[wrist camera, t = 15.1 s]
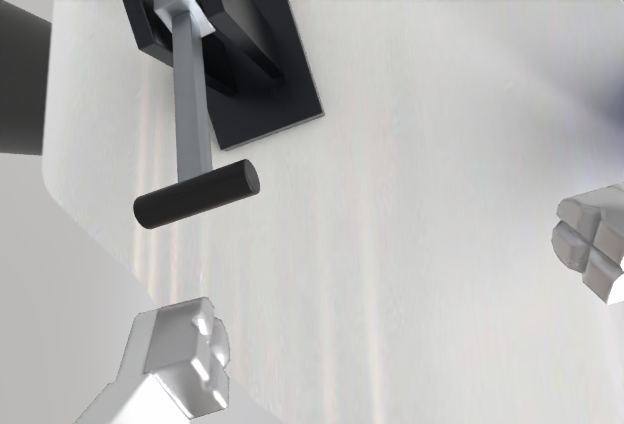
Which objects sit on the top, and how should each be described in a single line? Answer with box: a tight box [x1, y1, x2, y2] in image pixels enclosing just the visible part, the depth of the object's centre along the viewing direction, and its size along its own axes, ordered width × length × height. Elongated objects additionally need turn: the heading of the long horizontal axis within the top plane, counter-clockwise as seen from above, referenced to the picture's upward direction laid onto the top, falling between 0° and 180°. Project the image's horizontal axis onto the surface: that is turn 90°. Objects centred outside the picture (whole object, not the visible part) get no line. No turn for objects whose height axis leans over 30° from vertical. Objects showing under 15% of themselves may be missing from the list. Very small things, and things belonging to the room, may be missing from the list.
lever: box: [133, 0, 260, 229], centre depth 18 cm, size 14×5×2 cm, turn 17°
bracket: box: [123, 0, 325, 151], centre depth 25 cm, size 12×9×13 cm
